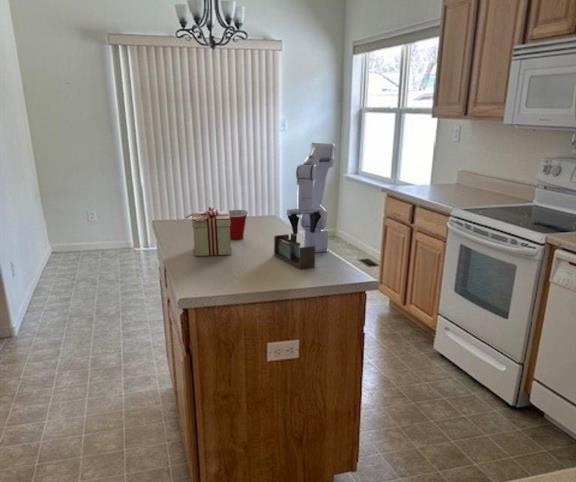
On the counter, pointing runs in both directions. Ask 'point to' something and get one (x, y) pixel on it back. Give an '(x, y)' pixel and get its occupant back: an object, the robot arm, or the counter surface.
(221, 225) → the gift box
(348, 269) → the counter surface
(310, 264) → the window frame
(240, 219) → the plastic cup
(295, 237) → the sliding pane
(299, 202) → the robot arm
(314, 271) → the counter surface
